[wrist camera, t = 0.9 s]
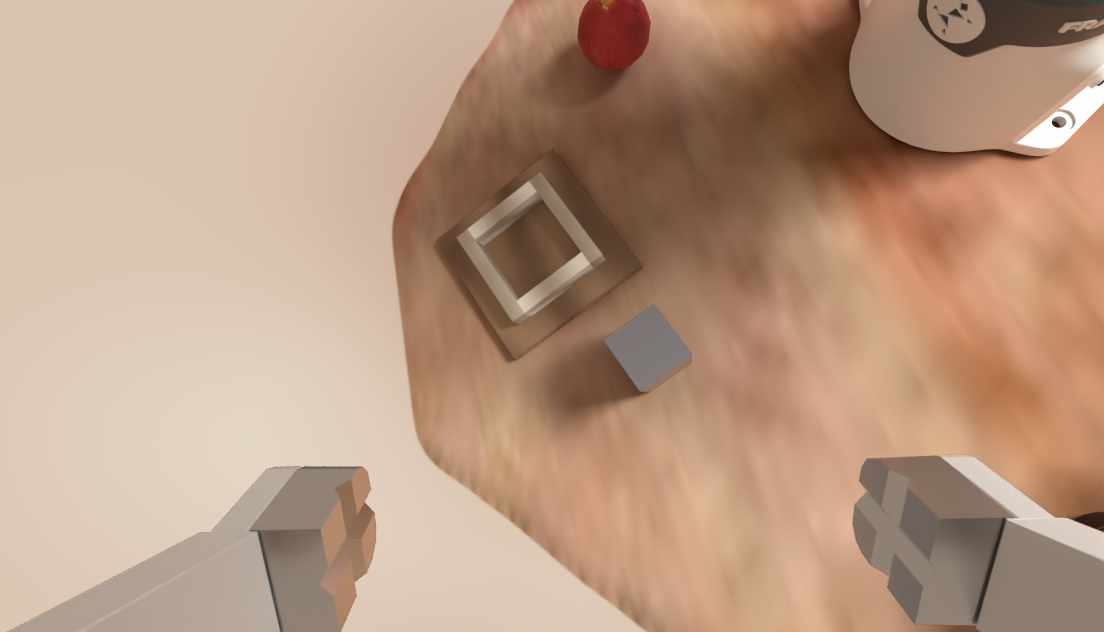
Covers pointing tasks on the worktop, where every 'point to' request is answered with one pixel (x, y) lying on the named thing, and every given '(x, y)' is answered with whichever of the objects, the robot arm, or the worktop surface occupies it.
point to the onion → (613, 32)
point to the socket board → (537, 254)
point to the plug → (649, 350)
